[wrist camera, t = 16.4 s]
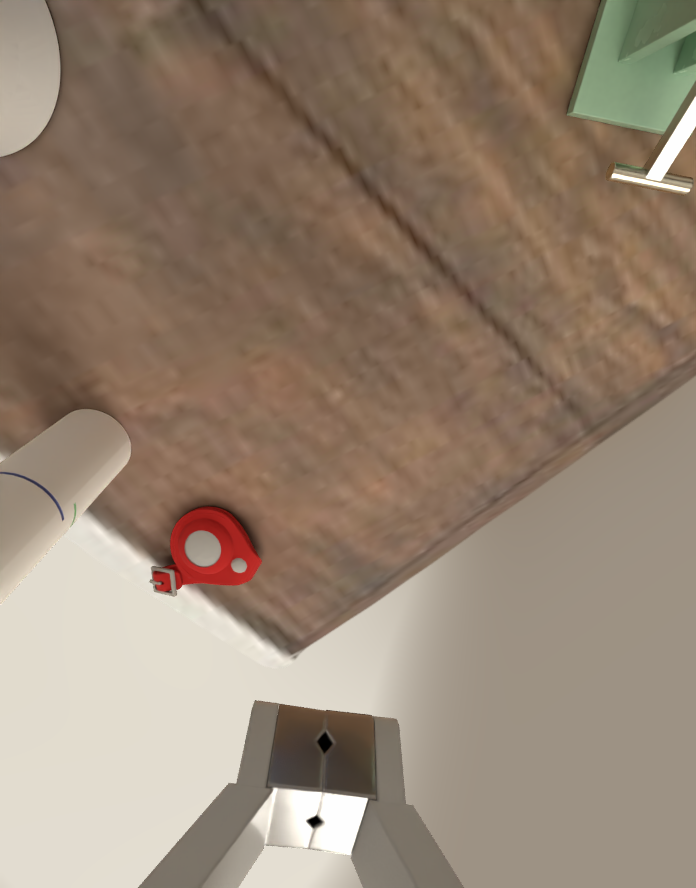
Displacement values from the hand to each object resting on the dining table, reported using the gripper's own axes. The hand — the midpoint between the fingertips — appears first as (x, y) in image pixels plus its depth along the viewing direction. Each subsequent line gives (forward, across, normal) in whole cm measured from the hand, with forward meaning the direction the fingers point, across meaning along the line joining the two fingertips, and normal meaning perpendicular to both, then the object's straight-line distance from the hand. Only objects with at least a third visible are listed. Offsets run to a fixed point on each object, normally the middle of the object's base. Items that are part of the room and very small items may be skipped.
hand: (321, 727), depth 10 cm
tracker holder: (+37, +12, +26) cm, 47 cm away
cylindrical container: (+37, +23, +15) cm, 46 cm away
